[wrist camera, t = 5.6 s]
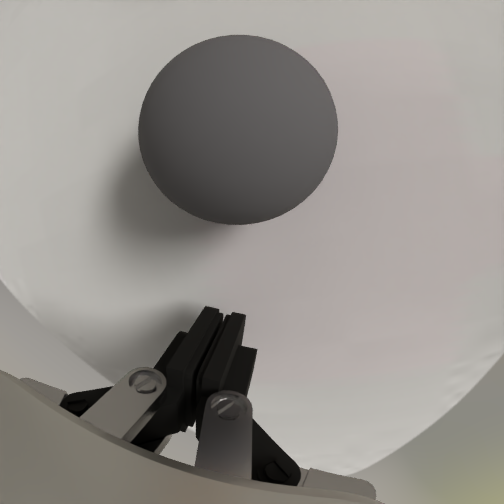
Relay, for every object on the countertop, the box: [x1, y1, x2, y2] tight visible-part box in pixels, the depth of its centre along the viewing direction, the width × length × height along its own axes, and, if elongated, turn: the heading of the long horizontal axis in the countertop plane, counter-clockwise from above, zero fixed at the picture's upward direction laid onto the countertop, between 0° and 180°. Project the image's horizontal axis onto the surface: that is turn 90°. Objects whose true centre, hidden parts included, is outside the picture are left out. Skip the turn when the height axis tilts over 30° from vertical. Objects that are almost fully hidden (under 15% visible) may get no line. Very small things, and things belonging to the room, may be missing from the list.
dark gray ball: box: [138, 35, 338, 225], centre depth 7 cm, size 6×6×6 cm
